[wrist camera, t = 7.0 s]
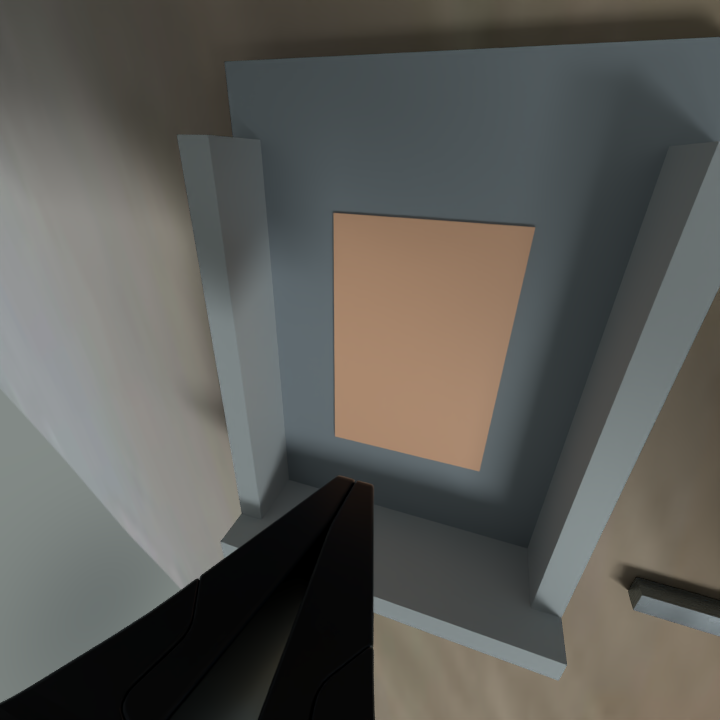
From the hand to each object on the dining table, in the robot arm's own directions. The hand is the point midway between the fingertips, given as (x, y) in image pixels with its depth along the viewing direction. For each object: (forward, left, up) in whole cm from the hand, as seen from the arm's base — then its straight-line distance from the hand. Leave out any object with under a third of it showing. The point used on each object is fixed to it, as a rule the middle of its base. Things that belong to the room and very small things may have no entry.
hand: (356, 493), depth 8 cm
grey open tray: (0, 0, -7) cm, 7 cm away
